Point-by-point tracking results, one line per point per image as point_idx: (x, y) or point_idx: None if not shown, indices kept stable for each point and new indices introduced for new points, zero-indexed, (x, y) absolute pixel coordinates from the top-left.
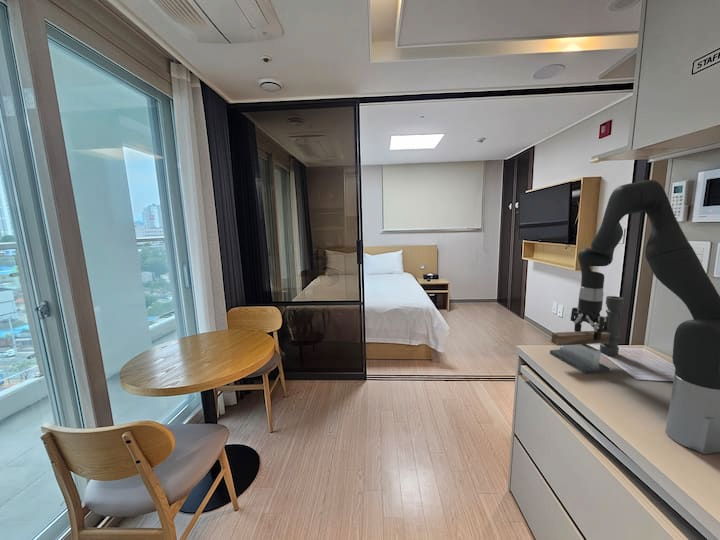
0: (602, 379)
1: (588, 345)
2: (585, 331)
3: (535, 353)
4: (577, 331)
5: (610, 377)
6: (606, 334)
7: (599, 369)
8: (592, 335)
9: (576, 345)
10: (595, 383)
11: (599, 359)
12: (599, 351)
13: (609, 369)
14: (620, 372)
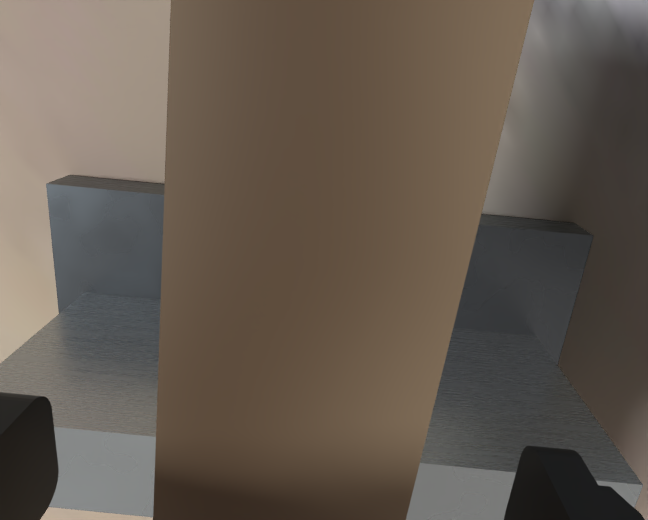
0: (632, 411)
1: (423, 469)
2: (168, 488)
3: (72, 514)
4: (35, 493)
5: (645, 318)
6: (508, 49)
7: (558, 351)
8: (403, 495)
9: None
10: (643, 508)
11: (575, 391)
12: (630, 489)
13: (585, 231)
14: (634, 118)
